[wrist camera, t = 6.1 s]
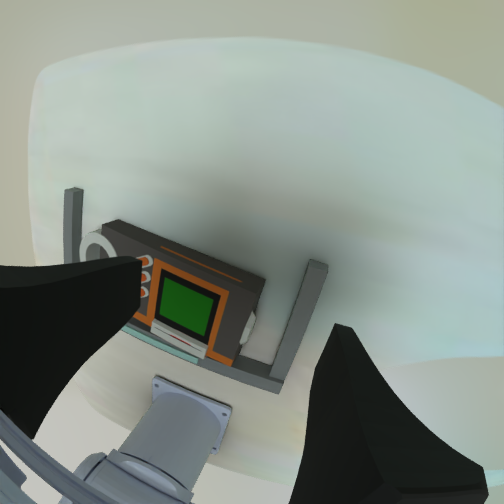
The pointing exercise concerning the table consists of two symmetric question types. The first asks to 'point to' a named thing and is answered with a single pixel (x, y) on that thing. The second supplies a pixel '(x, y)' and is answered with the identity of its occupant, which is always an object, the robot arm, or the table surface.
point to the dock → (240, 370)
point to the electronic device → (184, 291)
